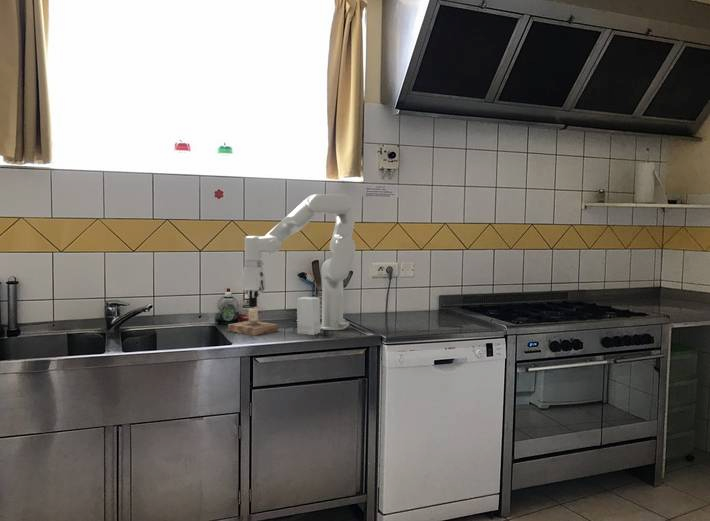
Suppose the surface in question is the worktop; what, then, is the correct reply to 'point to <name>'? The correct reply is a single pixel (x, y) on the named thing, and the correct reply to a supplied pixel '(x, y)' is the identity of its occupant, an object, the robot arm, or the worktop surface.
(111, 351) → the worktop surface
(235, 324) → the wooden square frame
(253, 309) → the beech peg
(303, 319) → the skincare box
